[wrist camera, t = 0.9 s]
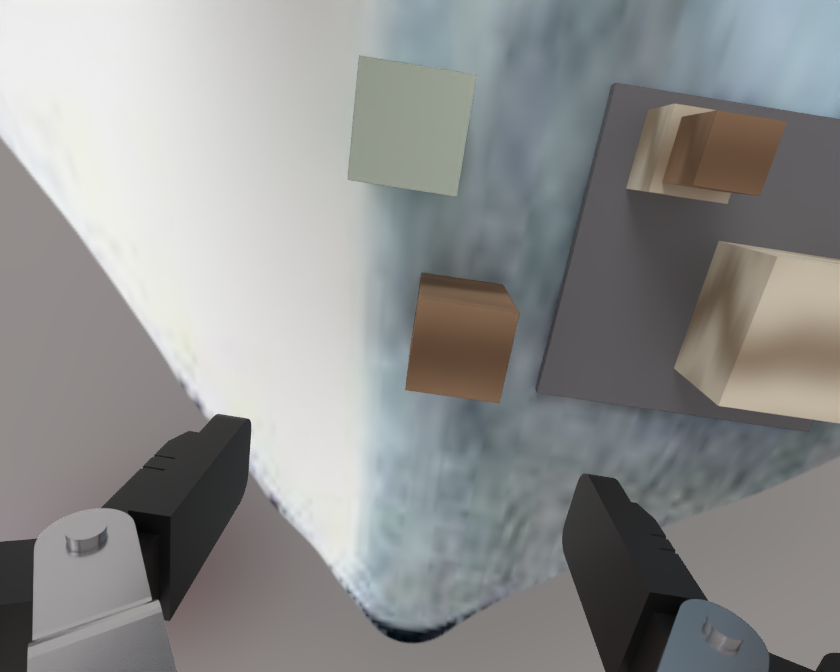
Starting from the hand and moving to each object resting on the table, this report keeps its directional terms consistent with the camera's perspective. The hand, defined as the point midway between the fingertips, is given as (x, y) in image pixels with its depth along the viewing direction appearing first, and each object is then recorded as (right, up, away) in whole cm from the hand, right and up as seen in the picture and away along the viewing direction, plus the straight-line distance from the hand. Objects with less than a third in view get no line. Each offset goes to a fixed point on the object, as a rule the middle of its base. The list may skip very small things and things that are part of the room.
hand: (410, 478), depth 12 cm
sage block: (0, +15, +15) cm, 21 cm away
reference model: (+14, +13, +14) cm, 24 cm away
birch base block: (+21, +5, +17) cm, 27 cm away
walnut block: (+2, +5, +19) cm, 19 cm away
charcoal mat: (+18, +7, +17) cm, 26 cm away
